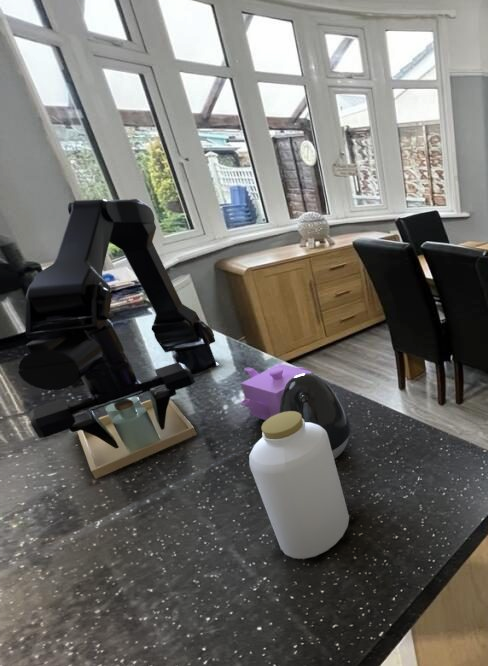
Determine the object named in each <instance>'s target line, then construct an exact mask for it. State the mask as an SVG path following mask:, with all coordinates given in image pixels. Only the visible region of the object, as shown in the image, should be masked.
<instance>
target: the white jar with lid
mask: <svg viewBox="0 0 488 666" xmlns="http://www.w3.org/2000/svg"><path fill="white" fill-rule="evenodd" d="M260 429H261V431H262V432H261V433H262V434H261V436H262V437H261V438H260V439H259V440H258V441H256V443H255V444H254V445H253V447H252V449H251V451H250V453H249V457H248V458H249V459H248V460H249V461H248V462H249V463H248V464H249V469H250V472H251V473H252V477H253V480H254V482H255V485H256V488H257V490H258V492H259V495H260V498H261V500H262V503H263V506H264V508H265V511H266V514H267V516H268V519H269V522H270V524H271V527H272V530H273V533H274V535H275V537H276V540H277V542H278V545H279V548H280V549H281V551H282V552H283V553H284V555H286V556H287V557H290V558H292V559H299V560H306V559H309V558H314V557H317V556H320V555H321V554H323V553H325V552H327V551H329V549H332V547H334V546H335V545H336V544H337V543H338V542H339V541H340V540H341V539H342V537H343V536H344V535H345V533H346V531H347V529H348V527H349V522H350V515H349V511H348V507H347V504H346V499H345V496H344V492H343V488H342V484H341V481H340V477H339V473H338V469H337V466H336V461H335V459H334V457H333V453H332V450H331V446H330V442H329V438H328V435H327V432H326V431H325V430H324V429H323V428H322V427H321V426H319V425H317V424H314V423H310V422H305V421H304V419H303V418H302V415H301V414H300V413H299V412H295V411H287V412H282V413H279V414H276V415H274V416H272V417H270V418H269V419H267V420H264V422H263V423H262V425H261V428H260Z"/></svg>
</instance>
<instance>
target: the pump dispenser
mask: <svg viewBox="0 0 488 666" xmlns="http://www.w3.org/2000/svg"><path fill="white" fill-rule="evenodd" d="M287 411H295V412H299V413H300V414H301V415H302V418H303V419H304V421H305V422H310V423H314V424H317V425H319V426H321V427H322V428H323V429H324V430H325V431H326V432H327V435H328V438H329V442H330V446H331V450H332V453H333V457H334V460H336V459H337V458H338V457H340V455H341V454H342V453H343V452H344V451H345V449H346V446H348V443H349V440H350V439H349V438H350V434H351V430H352V429H351V423H350V420H349V417H348V414H347V413H346V410H345V408H344V407H343V405H342V403H341V400H339V398H338V396H337V395H336V393H335V392H334V390H333V389H332V387H330V385H328V383H327V382H326V381H325V380H323V379H322V378H321V377H320V376H318V375H316V374H315V373H314V374H310V373H303V374H299V375H296V376H294V377H293V378H291V379H290V380H289V381H288V382H287V384H286V386H285V388H284V390H283V393H282V396H281V401H280V410H279V413H282V412H287Z"/></svg>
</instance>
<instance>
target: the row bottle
mask: <svg viewBox="0 0 488 666" xmlns="http://www.w3.org/2000/svg"><path fill="white" fill-rule="evenodd" d="M127 399H132V401H133V403H134V404H133V405H134V407H135V408H140V407H142V408H143V406H142V404H141V403H142V402H141V399H140V397H138V396H136V397H130V398H127ZM124 400H125V399H124ZM118 402H119V401H118ZM115 403H117V402H115ZM115 403H112V404H110V405H108V406H107V407H106V409H105V408H104V410H105V412H106V414H107V415H108V416H109V418H110V420H111V421H112V419H113V418H114V417H115V416H116V415H118V414H119V413H118V411H117V410H116V409H115V407H114V404H115Z"/></svg>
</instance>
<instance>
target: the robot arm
mask: <svg viewBox="0 0 488 666" xmlns="http://www.w3.org/2000/svg"><path fill="white" fill-rule="evenodd" d="M67 211H68V214H69V217H68V220H67V223H66V227H65V230H64V233H63V236H62V239H61V242H60V245H59V248H58V251H57V254H56V257H55V260H54V261H53V263H52V264H51V265H49V266H47V267H46V268H44V269H42V270H41V271H39V272H38V273H36V275H35V276H34V278H33V280H32V281H31V283H30V284H29V286H28V288H27V291H26V294H25V337H26V338H27V339H33V338H38V339H34V340H32V341H29V342H28V343H27V344H25V345H26V346H25V347H26V348H27V350H28V352H29V353H27V354H26V355H25V356H23V357H22V359H21V360H20V361H19V365H18V371H17V372H18V375H19V377H20V378H21V379H22V381H24V383H25V382H26V383H27V384H28V385H29V386H32V387H34V388H36V389H40V390H45V391H59V390H64V389H67V388H69V387H72V389H76V388H81V387H84V386H85V388H86V390H87V392H88V394H89V396H90V397H89V398H86V399H83V400H80V401H77V402H74V403H71V404H70V403H69V402H68V400H67V398H62V399H58V400H56V401H52V402H49V403H46V404H42V405H39V406H37V407H33V408H32V409H31V411H30V412H29V419H30V425H31V426H32V429H33V430H34V432H35V434H36V435H37V437H38V438H39V439H44V438H48V437H51V436H53V435H56V434H58V433H62V432H64V431H67V430H69V431H70V432H71V433H75V432H76V433H77V431H79V430H82V431H84V432H87V433H89V434H91V435H94V436H96V437H98V438H100V439H101V440H103V441H104V442H106V443H108V444H109V445H111V446H112V447H114V448H116V449H117V448H119V446H118V444H117V442H116V441H115V439H114V437H113V436H112V435H111V433H110V432H109V431H108V430H107V428H106V427H105V426H104V425H103V423H102V422H101V421H100V420H99V418H100V417H98V415H97V414H96V413H95V411H94V410H98V409H100V408H104V406H107V405H110V404H112V403H115V402H118V401H121V400H124V399H127V398H130V397H133V396H136V397H137V396H138V395H141V394H145V393H148V395H149V398H150V400H151V402H152V405H153V409H154V413H155V416H156V420H157V422H158V424H159V427H160V428H161V430H163V429H164V428H165V419H166V411H167V407H168V404H169V400H170V399H172V397H174V396H177V393H178V392H177V391H179V390H181V389H185V388H187V387H189V386H192V385H194V384H195V383H196V380H195V378H194V375H196V374H199V373H202V372H205V371H208V370H211V369H213V368H217V367H219V366H220V365H219V363H218V362H217V360H216V358H215V356H214V353H213V351H212V348H211V346H210V345H211V344H213V343H216V338H215V334H214V331H213V329H212V328H211V327H210V326H208V325H207V324H206V323H205V322H204V321H203V320H201V319H200V317H199V315H198V314H197V312H196V311H195V310H193V309H191V308H190V307H188V306H187V305H185V304H183V302H182V301H181V299H180V296H179V294H178V292H177V290H176V288H175V286H174V284H173V282H172V280H171V278H170V276H169V274H168V272H167V269H166V268H165V265H164V263H163V261H162V259H161V257H160V255H159V253H158V250H157V249H156V246H155V245H154V242H153V240H154V237H155V234H156V229H157V226H156V222H155V215H154V212H153V210H152V208H151V207H150V205H148V204H146V203H145V202H142V201H141V200H140V199H138V198H128V199H127V198H126V199H125V198H124V199H108V200H106V199H104V198H99V199H78V200H74V201H72V202H69V203H68V205H67ZM110 244H111V245H113V246H115V247H117V248H118V249H120V250H121V251H122V253H123V254H124V256H125V258H126V260H127V262H128V264H129V266H130V268H131V269H132V271H133V273H134V275H135V277H136V279H137V281H138V283H139V285H140V286H141V289H142V290H143V292H144V294H145V296H146V298H147V299H148V302H149V303H150V305H151V307H152V309H153V311H154V313H155V318H154V320H153V324H152V326H151V331H152V332H153V335H154V339H155V340H156V342H157V343H158V345H159V346H160V347H161V349H162V350H163V351H164V353H170V352H173V353H174V354H172V359H173V362H174V363H171V364H168V365H165V366H162V367H159V368H155V369H154V372H155V375H154V376H152V377H148V378H147V379H143V380H141V381H140V380H139V378H138V376H137V374H136V371H135V370H134V368H133V366H132V364H131V362H130V359H129V357H128V354H127V353H126V350H125V349H124V346H123V344H122V343H121V340H120V338H119V336H118V334H117V331H116V329H115V327H114V325H113V323H112V321H113V320H114V319H116V315H115V314H114V313H112V312H111V305H112V304H111V303H112V298H113V296H112V293H111V286H110V285H109V283H108V282H107V281H106V280H105V279H104V277H103V270H104V266H105V262H106V258H107V254H108V249H109V245H110ZM47 321H50V322H47Z"/></svg>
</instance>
